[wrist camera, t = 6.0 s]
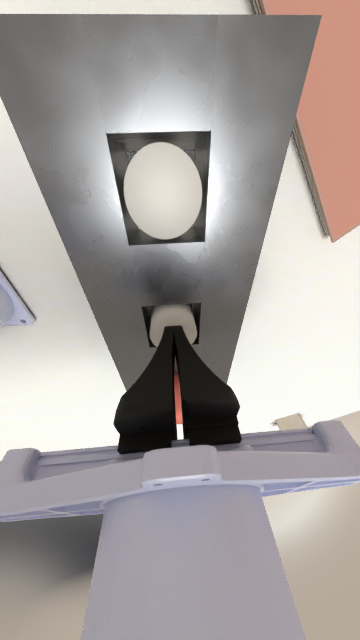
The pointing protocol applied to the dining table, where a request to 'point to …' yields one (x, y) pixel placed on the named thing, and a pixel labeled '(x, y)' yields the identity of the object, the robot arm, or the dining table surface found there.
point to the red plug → (177, 399)
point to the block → (151, 127)
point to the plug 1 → (162, 190)
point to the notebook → (329, 110)
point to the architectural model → (291, 422)
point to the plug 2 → (172, 321)
